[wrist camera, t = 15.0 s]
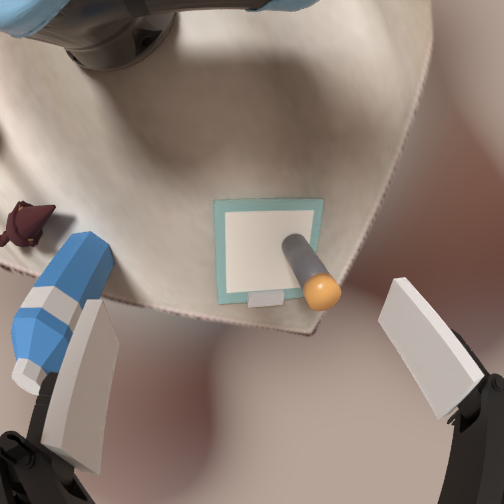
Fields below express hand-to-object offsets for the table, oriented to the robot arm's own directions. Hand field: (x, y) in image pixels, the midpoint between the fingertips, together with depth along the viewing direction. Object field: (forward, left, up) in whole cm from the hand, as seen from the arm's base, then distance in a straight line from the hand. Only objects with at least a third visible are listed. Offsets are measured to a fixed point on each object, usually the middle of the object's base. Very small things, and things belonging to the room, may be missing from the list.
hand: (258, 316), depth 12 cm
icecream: (+5, -31, -29) cm, 43 cm away
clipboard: (+14, +7, -29) cm, 33 cm away
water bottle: (+13, -22, -29) cm, 39 cm away
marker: (+12, +11, -28) cm, 32 cm away
